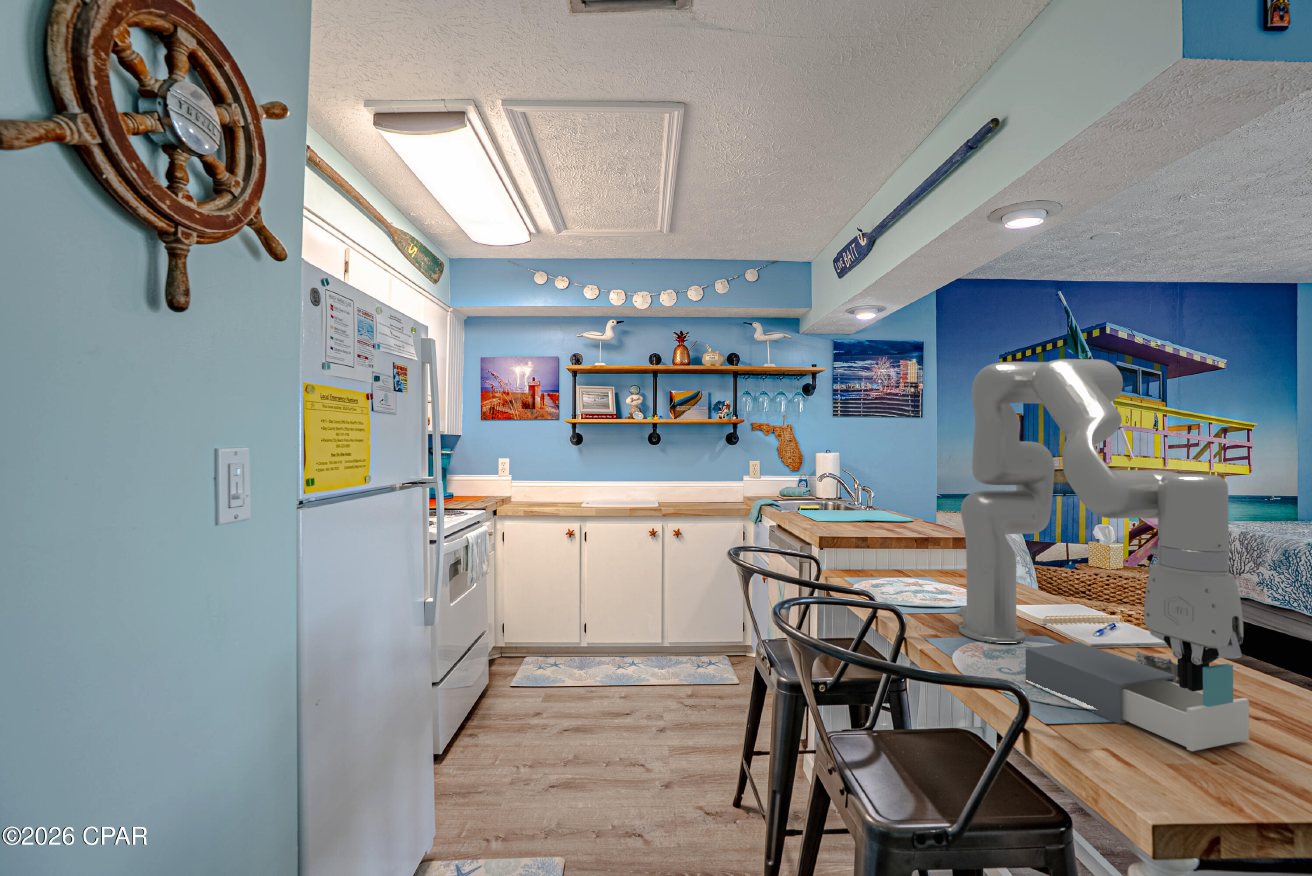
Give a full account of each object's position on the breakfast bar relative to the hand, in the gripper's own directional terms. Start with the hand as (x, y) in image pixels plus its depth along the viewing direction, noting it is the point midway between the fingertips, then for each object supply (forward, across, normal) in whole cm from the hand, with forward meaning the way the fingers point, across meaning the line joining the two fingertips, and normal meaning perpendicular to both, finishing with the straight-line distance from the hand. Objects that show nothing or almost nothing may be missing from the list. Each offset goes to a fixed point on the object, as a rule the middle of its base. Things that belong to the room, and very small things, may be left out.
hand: (1193, 687), depth 85 cm
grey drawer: (+7, -6, 0) cm, 9 cm away
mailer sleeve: (+7, -14, 0) cm, 16 cm away
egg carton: (+8, -15, +18) cm, 25 cm away
